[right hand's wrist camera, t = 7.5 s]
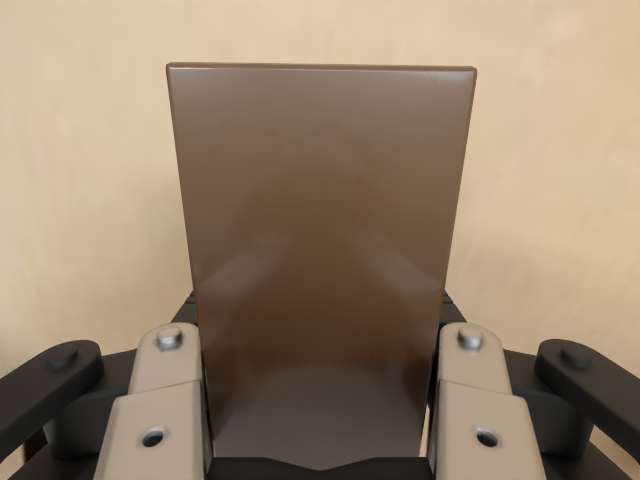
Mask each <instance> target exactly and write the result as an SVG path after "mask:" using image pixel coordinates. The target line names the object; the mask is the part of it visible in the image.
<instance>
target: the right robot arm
mask: <svg viewBox="0 0 640 480" xmlns="http://www.w3.org/2000/svg"><path fill="white" fill-rule="evenodd" d="M427 404H428V407H429V417H428V429H427V443H426V456H425V457H373V458H369V459H366V460H362V461H358V462H354V463H350V464H346V465H342V466H338V467H334V468H331V469H327V470H313V469H309V468H306V467H302V466H298V465H294V464H290V463H286V462H282V461H278V460H274V459H271V458H267V457H215V456H214V443H213V435H212V428H211V425H210V418H209V410H208V402H207V394H206V386H205V378H204V370H203V362H202V354H201V346H200V338H199V330H198V322H197V314H196V306H195V298H194V290H193V291H192V292H191V294H190V297H188V298H187V300H186V301H185V304H183V305H182V307H181V308H180V310H179V311H178V312H177V314H176V315H175V317H174V318H173V320H172V321H171V322H170V324H166V325H162V326H159V327H157V328H155V329H153V330H151V331H149V332H148V333H147V334H145V335H144V336H143V337H142V338H141V340H140V341H139V344H138V348H137V349H134V350H130V351H126V352H121V353H115V354H110V355H105V356H102V355H101V351H100V347H99V345H98V344H97V343H95V342H93V341H90V340H76V341H70V342H66V343H62V344H59V345H56V346H54V347H51V348H49V349H47V350H45V351H43V352H42V353H40V354H38V355H37V356H35V357H34V358H32V359H31V360H29V361H27V362H26V363H24V364H23V365H21V366H20V367H18V368H17V369H15V370H13V371H12V372H10V373H9V374H7V375H6V376H4V377H3V378H1V379H0V464H1V462H2V461H3V460H4V459H5V458H6V457H7V456H9V455H10V454H11V453H12V452H13V451H15V450H16V449H17V448H18V447H19V446H21V445H22V444H23V443H24V442H25V441H26V440H28V439H29V438H30V437H31V436H32V435H34V434H35V433H36V432H37V431H38V430H40V429H41V428H42V427H43V429H44V432H45V435H46V438H47V441H48V444H47V445H46V446H44V447H43V448H42V449H41V450H40V451H39V452H38V453H37V454H36V455H34V456H33V457H32V458H31V459H30V460H29V461H28V462H27V463H26V464H24V465H23V466H22V467H21V468H20V469H19V470H18V471H17V472H16V473H14V474H13V475H12V476H11V477H10V478H9V479H8V480H632V479H631V478H630V477H629V476H628V475H627V474H626V473H624V472H623V471H622V470H621V469H620V468H619V467H618V466H617V465H616V464H614V463H613V462H612V461H611V460H610V459H609V458H608V457H607V456H606V455H604V454H603V453H602V452H601V451H600V450H599V449H598V448H597V447H596V446H594V445H593V444H592V443H591V442H590V441H589V438H590V435H591V432H592V429H593V427H594V424H595V425H596V426H597V427H598V428H599V429H600V430H602V431H603V432H604V433H605V434H606V435H608V436H609V437H610V438H611V439H612V440H614V441H615V442H616V443H617V444H618V445H619V446H621V447H622V448H623V449H624V450H625V451H627V452H628V453H629V454H630V455H631V456H632V457H633V458H634V459H635V460H636V461H637V462H638V463H639V465H640V379H639V378H637V377H636V376H634V375H633V374H631V373H630V372H628V371H627V370H625V369H623V368H622V367H620V366H619V365H617V364H616V363H614V362H613V361H611V360H609V359H608V358H606V357H605V356H603V355H602V354H600V353H598V352H597V351H595V350H593V349H591V348H589V347H587V346H585V345H582V344H579V343H576V342H573V341H568V340H562V339H550V340H545V341H543V342H542V343H541V344H540V346H539V349H538V353H537V356H535V355H529V354H524V353H519V352H514V351H509V350H505V349H503V348H502V344H501V341H500V340H499V338H498V337H497V336H496V335H495V334H493V333H492V332H491V331H489V330H487V329H485V328H483V327H481V326H478V325H474V324H470V323H467V321H466V320H465V318H464V317H463V316H462V314H461V313H460V311H459V310H458V308H457V307H456V305H455V304H453V301H452V300H451V298H450V297H449V296H448V294H447V292H446V291H445V290H444V295H443V302H442V308H441V315H440V321H439V328H438V335H437V341H436V348H435V354H434V361H433V367H432V374H431V381H430V387H429V394H428V400H427Z"/></svg>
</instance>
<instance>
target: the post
mask: <svg viewBox="0 0 640 480" xmlns="http://www.w3.org/2000/svg"><path fill="white" fill-rule="evenodd" d="M166 75H167V83H168V91H169V99H170V107H171V115H172V123H173V131H174V139H175V147H176V155H177V163H178V171H179V179H180V187H181V195H182V203H183V211H184V219H185V227H186V235H187V243H188V251H189V259H190V266H191V274H192V282H193V290H194V298H195V306H196V314H197V322H198V330H199V338H200V346H201V354H202V362H203V370H204V378H205V386H206V394H207V402H208V410H209V418H210V425H211V428H212V435H213V443H214V456H215V457H267V458H271V459H274V460H278V461H282V462H286V463H290V464H294V465H298V466H302V467H306V468H309V469H313V470H327V469H331V468H334V467H338V466H342V465H346V464H350V463H354V462H358V461H362V460H366V459H369V458H373V457H419V453H420V446H421V440H422V433H423V427H424V420H425V413H426V407H427V400H428V394H429V387H430V381H431V374H432V367H433V361H434V354H435V348H436V341H437V335H438V328H439V321H440V315H441V308H442V302H443V295H444V289H445V282H446V276H447V269H448V262H449V256H450V249H451V243H452V236H453V230H454V223H455V216H456V210H457V203H458V197H459V190H460V184H461V177H462V170H463V164H464V157H465V151H466V144H467V138H468V131H469V124H470V118H471V111H472V105H473V98H474V92H475V85H476V78H477V69H476V68H474V67H472V66H420V65H350V64H280V63H211V62H170V63H168V64H166Z"/></svg>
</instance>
